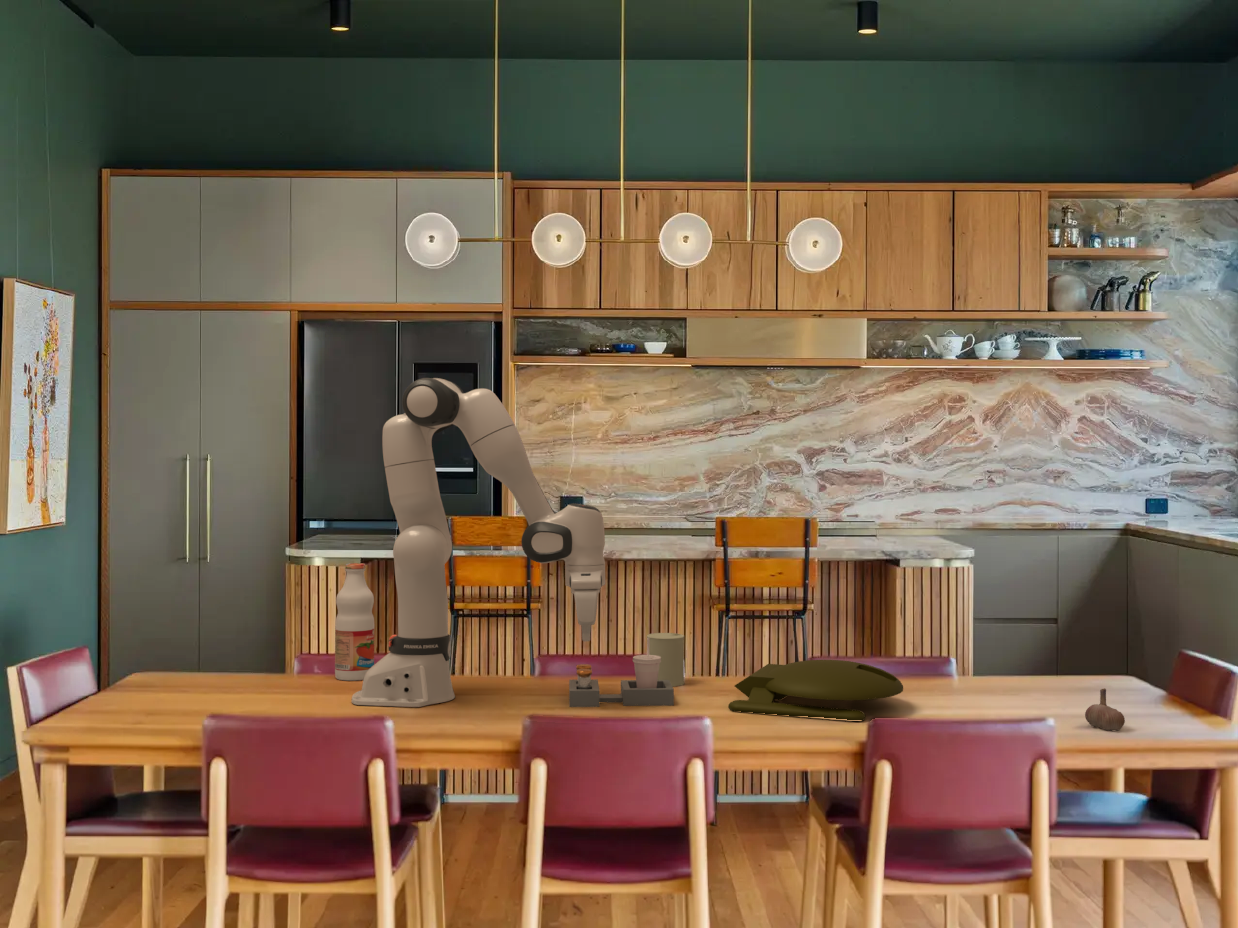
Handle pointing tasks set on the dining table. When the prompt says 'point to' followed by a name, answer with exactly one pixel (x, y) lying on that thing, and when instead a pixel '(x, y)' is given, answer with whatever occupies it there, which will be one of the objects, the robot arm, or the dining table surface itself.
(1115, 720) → the garlic bulb
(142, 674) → the dining table surface
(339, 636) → the fruit juice
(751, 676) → the spaceship
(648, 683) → the smoothie
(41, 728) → the dining table surface
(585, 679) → the plunger front
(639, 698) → the grey double well tray
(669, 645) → the can
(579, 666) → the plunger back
